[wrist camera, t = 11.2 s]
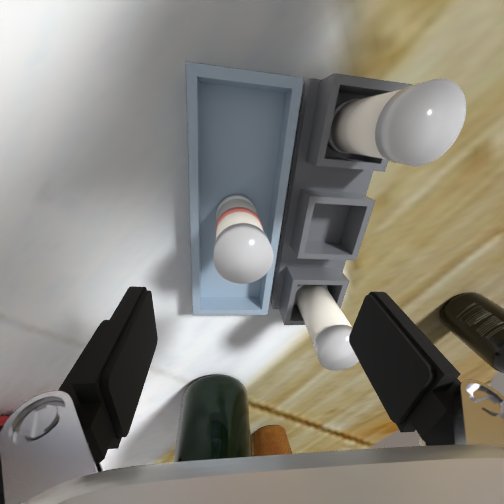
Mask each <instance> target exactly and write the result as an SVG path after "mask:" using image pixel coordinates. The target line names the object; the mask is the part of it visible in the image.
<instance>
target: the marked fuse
mask: <svg viewBox="0 0 504 504" xmlns="http://www.w3.org/2000/svg"><path fill="white" fill-rule="evenodd" d="M216 221H217V224H216V241H215V245H214V265H215V268H216V270H217V272H218V273H219V274H220V275H221V276H222V277H223V278H224V279H226V280H228V281H230V282H233V283H238V284H246V283H251V282H254V281H257V280H259V279H260V278H262V277H263V276H264V275H265V274H266V273H267V272H268V271H269V269H270V268H271V266H272V263H273V250H272V247H271V245H270V242H269V240H268V237H267V236H266V234H265V233H264V231H263V227H262V224H261V222H260V220H259V218H258V216H257V211H256V208H255V206H254V204H253V202H252V201H251V200H250V199H249V198H248V197H246V196H244V195H242V194H231V195H228V196H226V197H224V198H223V199H222V200H221V201H220V203H219V204H218V207H217V211H216Z"/></svg>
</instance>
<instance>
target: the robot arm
mask: <svg viewBox="0 0 504 504" xmlns="http://www.w3.org/2000/svg"><path fill="white" fill-rule="evenodd" d="M349 343H350V345H351V347H352V349H353V351H354V353H355V355H356V356H357V358H358V360H359V362H360V364H361V366H362V367H363V369H364V371H365V373H366V375H367V377H368V378H369V380H370V382H371V384H372V386H373V388H374V389H375V391H376V393H377V395H378V397H379V399H380V400H381V402H382V404H383V406H384V408H385V410H386V412H387V413H388V415H389V417H390V419H391V420H392V421H393V422H394V423H396V424H397V426H398V428H399V430H400V432H414V431H415V430H417V432H418V433H419V435H420V441H419V446H412V447H396V448H378V449H361V450H345V451H330V452H314V453H299V454H283V455H268V456H254V457H240V458H225V459H211V460H197V461H185V462H173V463H162V464H151V465H140V466H132V467H125V468H118V469H111V470H106V471H103V469H102V466H101V464H100V462H101V461H102V460H103V459H104V458H105V455H106V453H107V450H108V449H114V448H118V447H119V444H120V441H121V438H122V437H126V436H127V435H128V433H129V430H130V427H131V424H132V420H133V417H134V414H135V411H136V408H137V405H138V402H139V399H140V396H141V392H142V389H143V386H144V383H145V380H146V377H147V374H148V371H149V367H150V364H151V361H152V358H153V355H154V352H155V349H156V345H157V331H156V323H155V316H154V309H153V301H152V294H151V291H147V289H146V287H129V288H128V290H127V292H126V293H125V295H124V297H123V298H122V300H121V302H120V303H119V305H118V307H117V308H116V310H115V312H114V313H113V315H112V317H111V318H110V320H104V321H103V322H102V323H101V324H100V325H99V327H98V328H97V330H96V331H95V333H94V335H93V336H92V338H91V339H90V341H89V343H88V344H87V346H86V347H85V349H84V350H83V352H82V354H81V355H80V357H79V358H78V360H77V362H76V363H75V365H74V366H73V368H72V369H71V371H70V373H69V374H68V376H67V377H66V379H65V380H64V382H63V384H62V385H61V387H60V388H59V390H58V391H50V392H46V393H43V394H40V395H38V396H35V397H33V398H32V399H30V400H29V401H27V402H25V403H24V404H22V405H21V406H20V407H19V408H18V409H17V410H15V411H14V412H13V413H12V415H11V416H10V417H9V418H8V419H7V421H6V422H5V424H4V426H3V428H2V430H1V432H0V504H504V397H503V396H502V395H501V394H500V393H499V392H497V391H496V390H495V389H493V388H491V387H490V386H488V385H486V384H484V383H482V382H479V381H477V380H472V379H467V380H464V381H462V382H460V381H459V380H458V379H457V378H458V376H459V375H460V373H459V372H458V371H457V370H456V369H455V367H454V366H453V365H452V364H451V363H450V362H449V361H448V360H447V359H446V358H445V357H444V356H443V354H442V353H441V352H440V351H439V350H438V349H437V348H436V347H435V346H434V345H433V344H432V342H431V341H430V340H429V339H428V338H427V337H426V336H425V335H424V334H423V333H422V332H421V330H420V329H419V328H418V327H417V326H416V325H415V324H414V323H413V322H412V321H411V320H410V318H409V317H408V316H407V315H406V314H405V313H404V312H403V311H402V310H401V309H400V308H399V306H398V305H397V304H396V303H395V302H394V301H393V300H392V299H391V298H390V297H389V296H388V294H386V293H385V292H370V293H369V295H367V296H366V297H365V299H364V301H363V304H362V306H361V309H360V311H359V314H358V316H357V318H356V321H355V323H354V326H353V328H352V331H351V333H350V336H349Z"/></svg>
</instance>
